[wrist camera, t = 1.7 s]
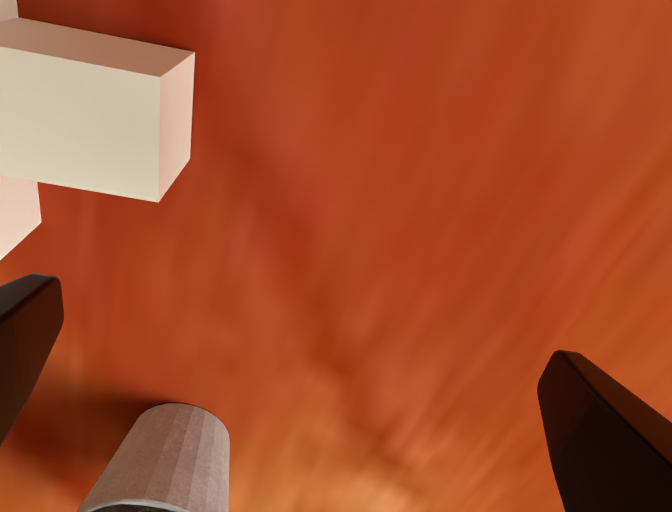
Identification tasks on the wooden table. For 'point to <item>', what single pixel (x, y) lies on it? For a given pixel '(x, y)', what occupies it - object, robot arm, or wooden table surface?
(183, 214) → the wooden table surface
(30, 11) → the wooden table surface
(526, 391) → the wooden table surface
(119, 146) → the t block
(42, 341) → the robot arm
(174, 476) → the house plant
